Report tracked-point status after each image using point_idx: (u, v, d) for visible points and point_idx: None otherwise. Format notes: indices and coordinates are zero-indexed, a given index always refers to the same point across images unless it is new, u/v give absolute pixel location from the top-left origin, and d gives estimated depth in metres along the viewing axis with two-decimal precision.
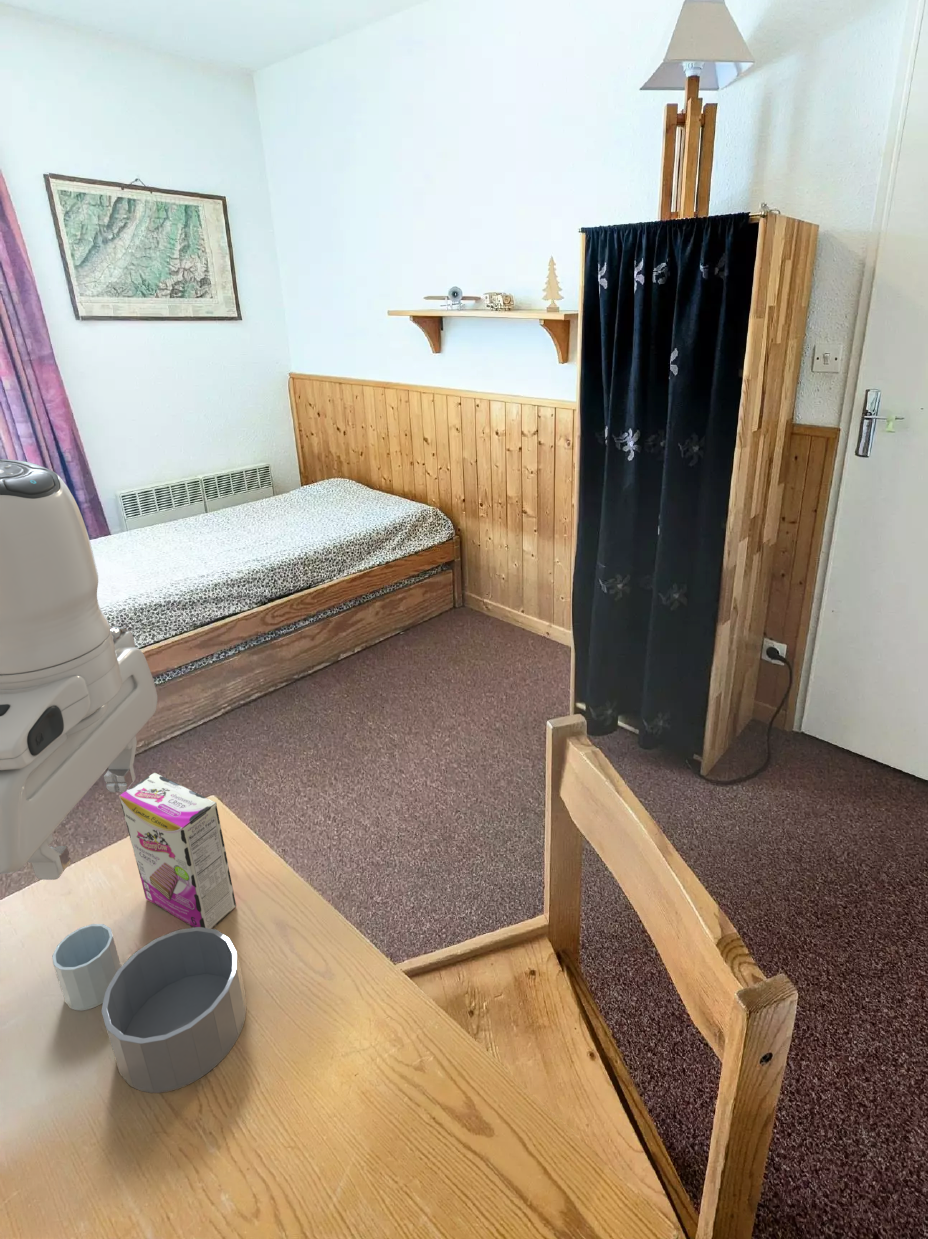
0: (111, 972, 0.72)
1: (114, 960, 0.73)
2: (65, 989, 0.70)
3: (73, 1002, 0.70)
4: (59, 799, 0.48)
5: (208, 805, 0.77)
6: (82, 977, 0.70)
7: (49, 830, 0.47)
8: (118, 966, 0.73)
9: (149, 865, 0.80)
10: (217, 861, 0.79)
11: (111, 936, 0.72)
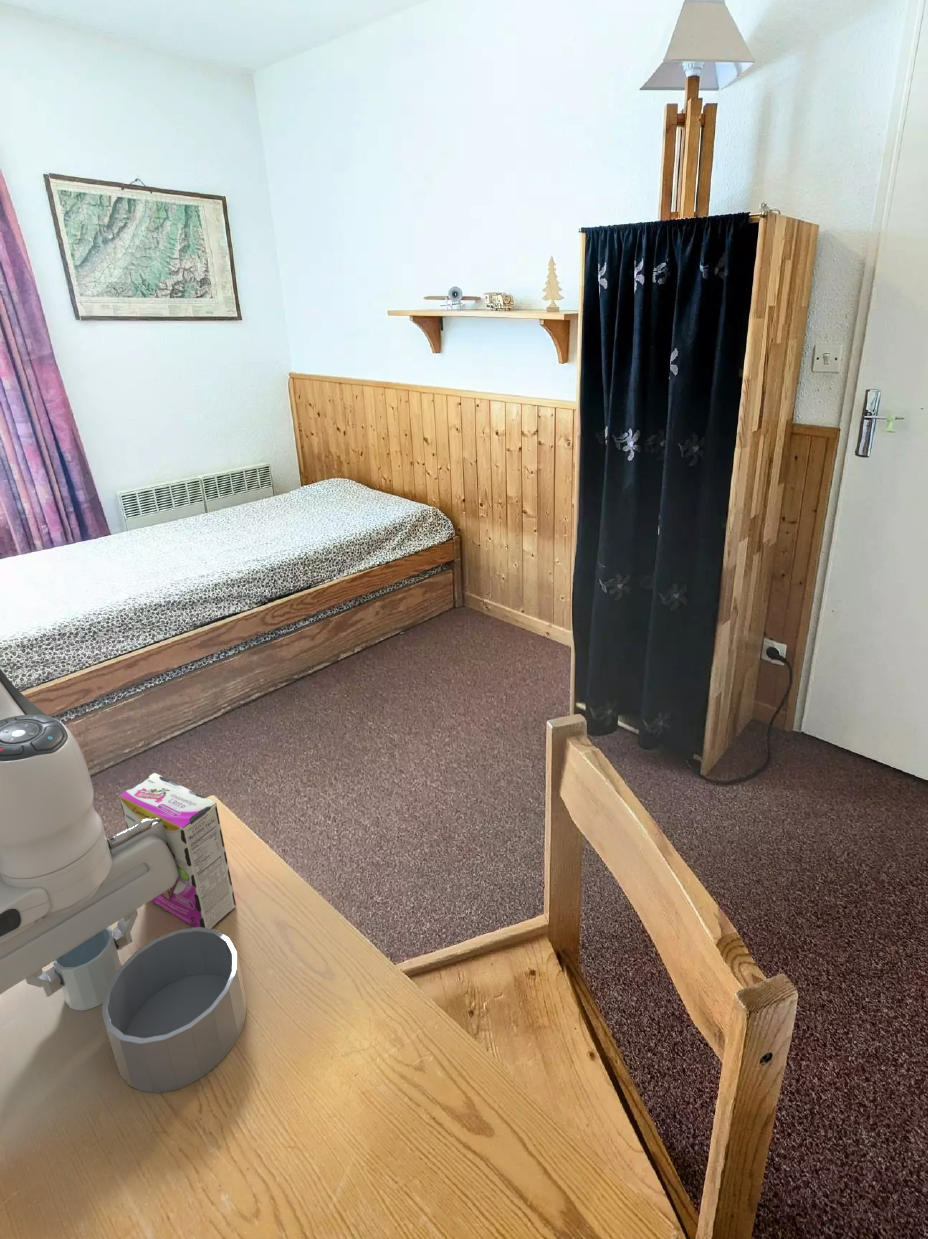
0: (111, 972, 0.72)
1: (115, 960, 0.73)
2: (65, 989, 0.70)
3: (73, 1002, 0.70)
4: (29, 961, 0.66)
5: (208, 805, 0.77)
6: (83, 977, 0.70)
7: (13, 982, 0.65)
8: (118, 966, 0.73)
9: None
10: (217, 861, 0.79)
11: (111, 936, 0.72)
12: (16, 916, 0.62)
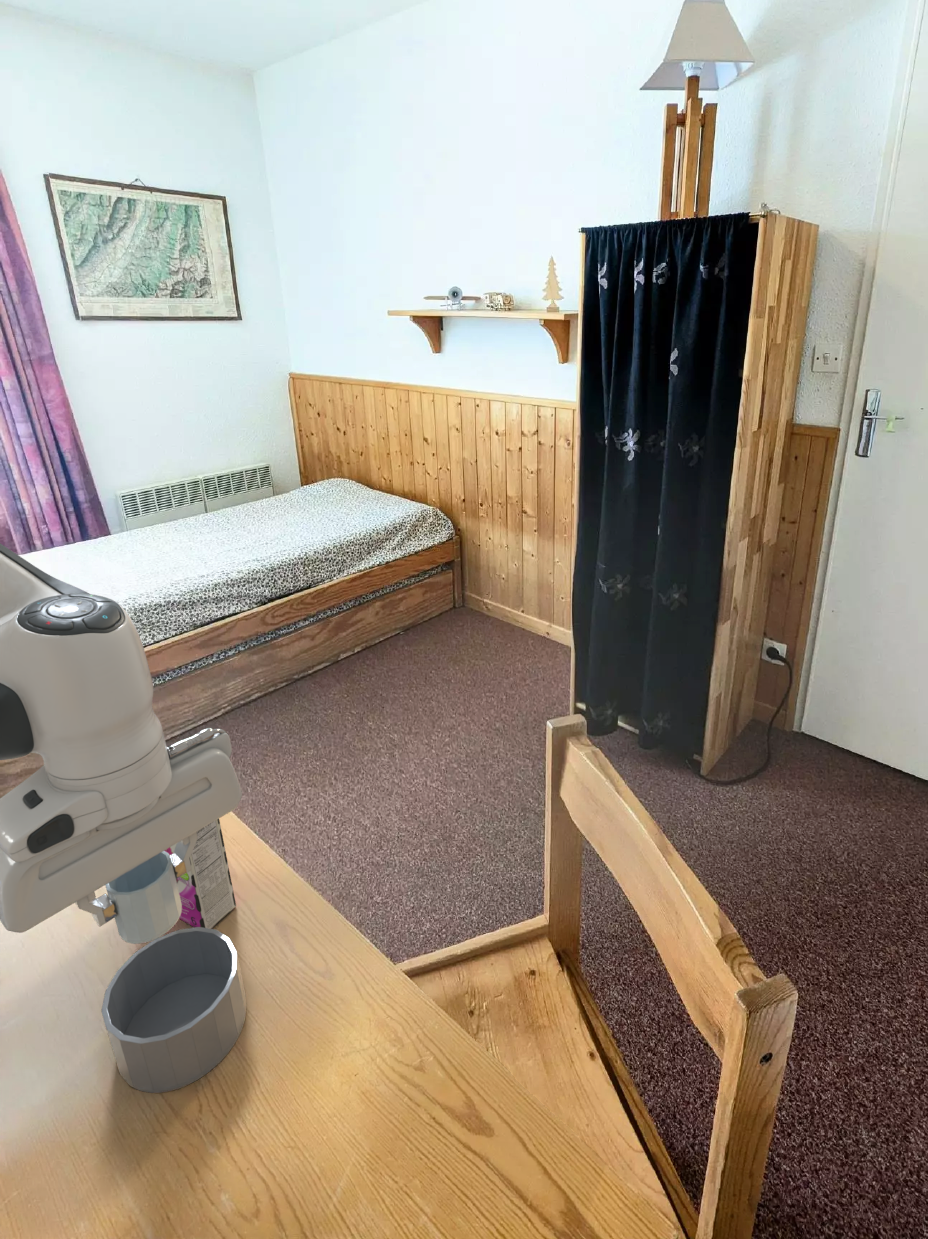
0: (170, 901, 0.63)
1: (174, 888, 0.64)
2: (119, 918, 0.61)
3: (128, 934, 0.62)
4: (81, 880, 0.57)
5: None
6: (140, 904, 0.61)
7: (64, 904, 0.56)
8: (177, 896, 0.64)
9: None
10: (217, 861, 0.79)
11: (170, 860, 0.64)
12: (69, 823, 0.53)
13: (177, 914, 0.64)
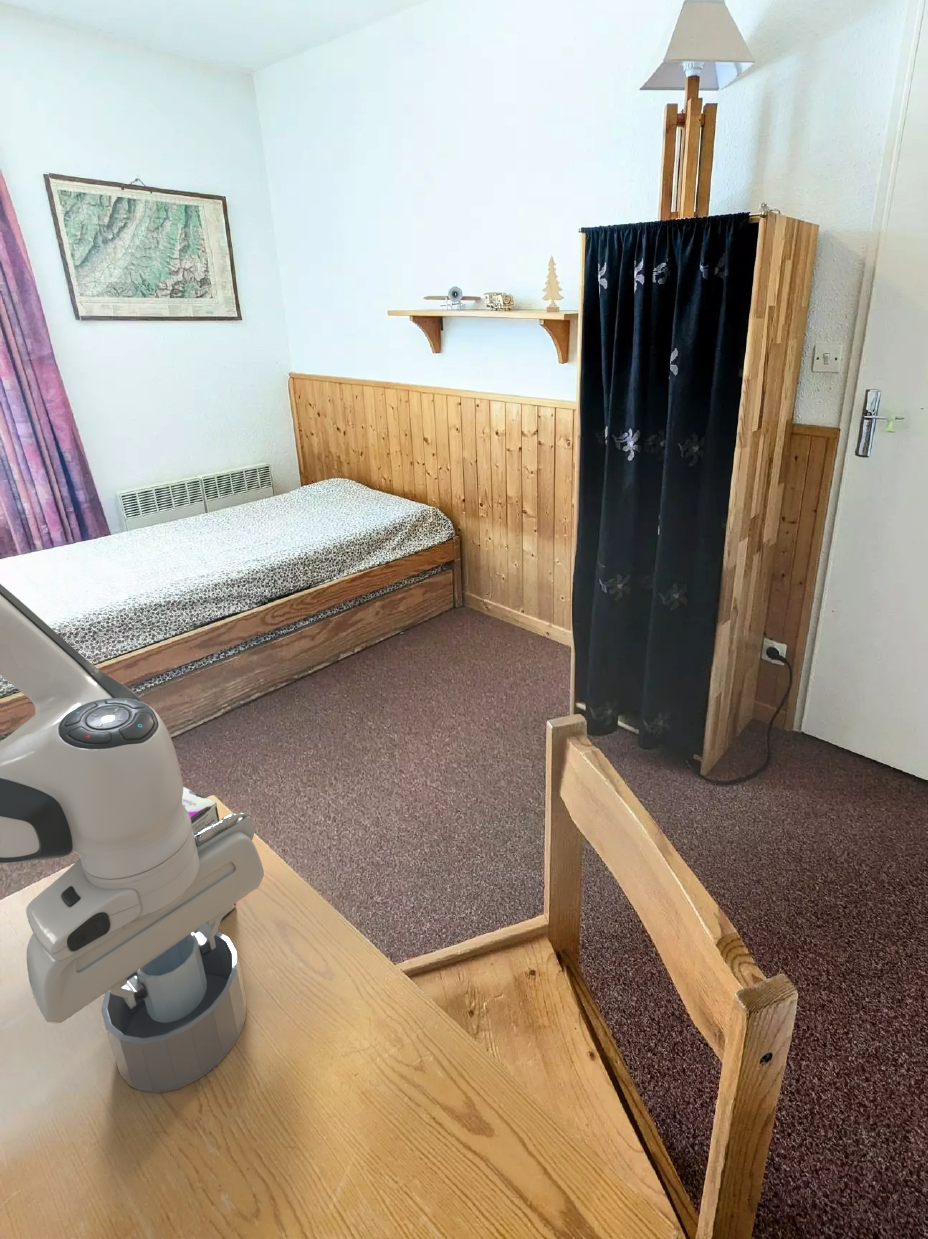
0: (197, 981, 0.66)
1: (200, 968, 0.67)
2: (149, 999, 0.64)
3: (157, 1014, 0.65)
4: (115, 969, 0.60)
5: (208, 805, 0.77)
6: (169, 986, 0.64)
7: (98, 993, 0.59)
8: (203, 974, 0.67)
9: None
10: None
11: (196, 941, 0.67)
12: (105, 920, 0.56)
13: (203, 992, 0.67)
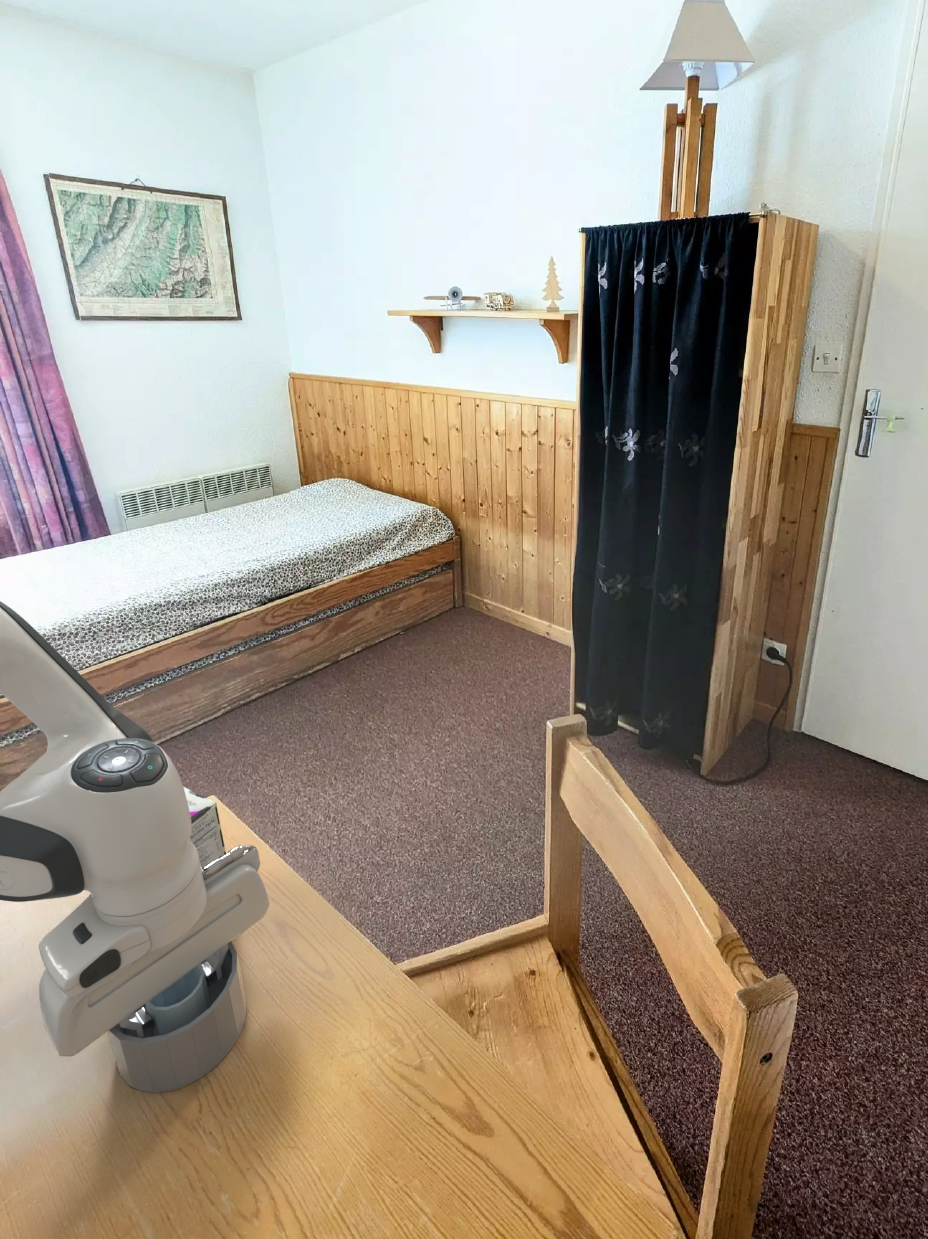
0: (203, 1010, 0.68)
1: (206, 998, 0.68)
2: (157, 1030, 0.66)
3: None
4: (125, 1003, 0.61)
5: (208, 805, 0.77)
6: (176, 1017, 0.65)
7: (109, 1026, 0.60)
8: (209, 1003, 0.69)
9: None
10: None
11: (203, 972, 0.68)
12: (116, 957, 0.58)
13: None
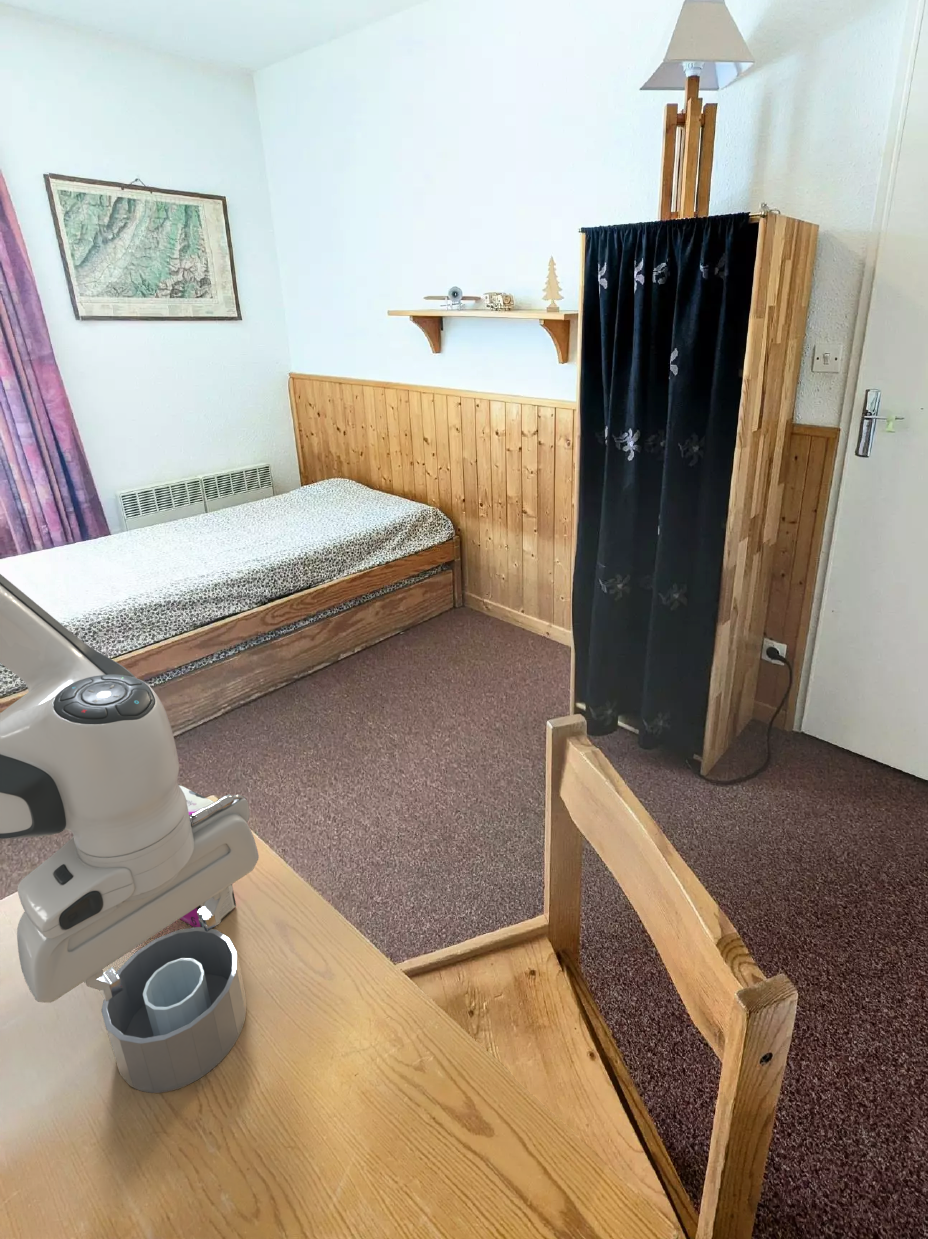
0: (203, 1010, 0.68)
1: (206, 998, 0.68)
2: (157, 1030, 0.66)
3: None
4: (107, 950, 0.59)
5: (208, 805, 0.77)
6: (176, 1017, 0.65)
7: (90, 974, 0.58)
8: (209, 1003, 0.69)
9: None
10: None
11: (202, 972, 0.68)
12: (98, 899, 0.55)
13: None
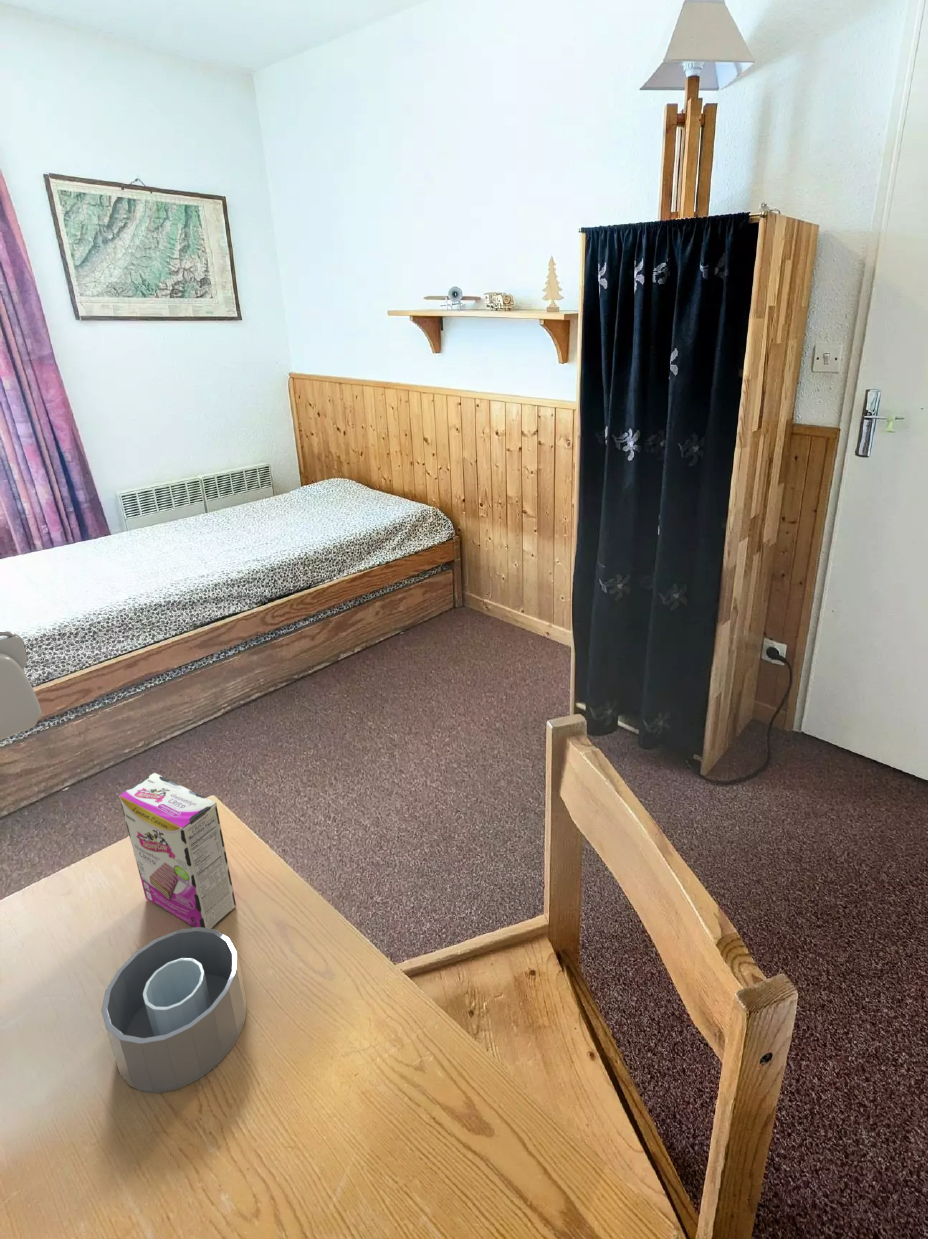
0: (203, 1010, 0.68)
1: (206, 998, 0.68)
2: (157, 1030, 0.66)
3: None
4: None
5: (208, 805, 0.77)
6: (176, 1017, 0.65)
7: None
8: (209, 1003, 0.69)
9: (149, 865, 0.80)
10: (217, 861, 0.79)
11: (202, 972, 0.68)
12: None
13: None
